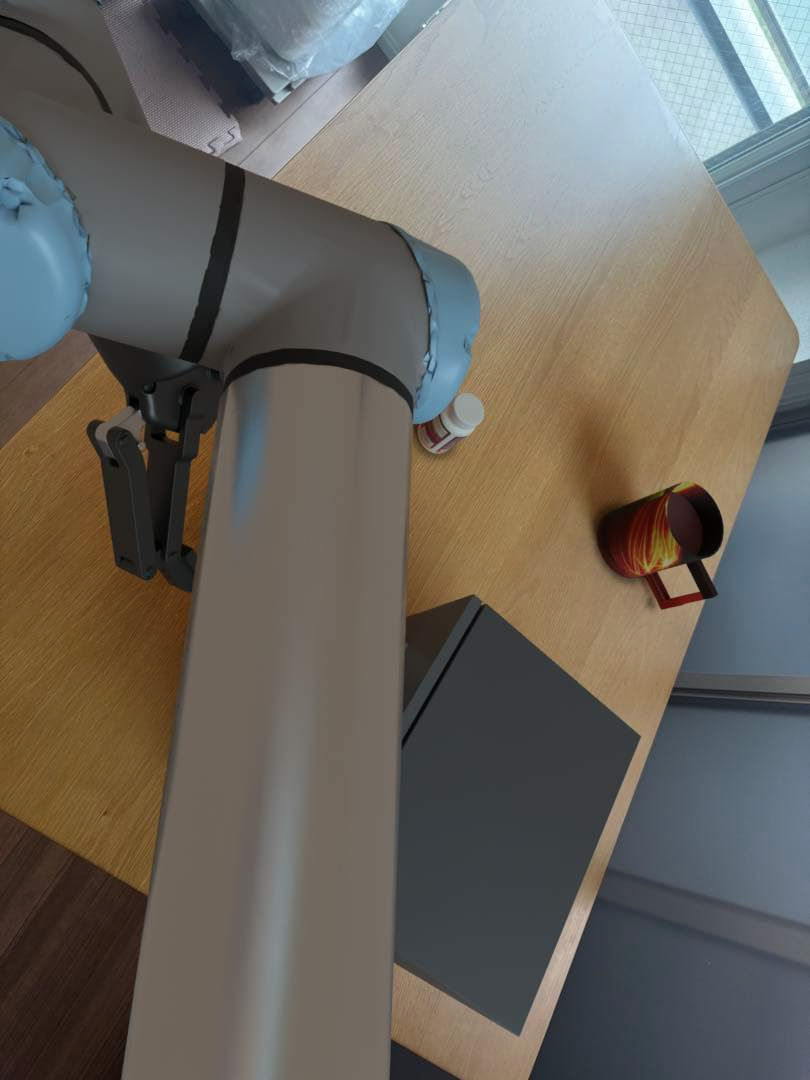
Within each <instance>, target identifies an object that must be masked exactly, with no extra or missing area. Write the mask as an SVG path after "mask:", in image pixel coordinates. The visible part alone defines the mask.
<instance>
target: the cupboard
mask: <svg viewBox="0 0 810 1080" xmlns="http://www.w3.org/2000/svg"><path fill="white" fill-rule="evenodd" d="M641 738H642V735H640V734H639V733H638V732H637V731H636V730H635V729H634V728H633V727H631V726H630V725H629V724H628V723H626V722H625V721H624V720H623V719H622V718H620V717H619V716H618V715H617V714H616V713H614V712H613V710H611V709H610V708H609V707H608V706H606V705H605V704H604V703H603V702H602V701H601V700H600V699H598V697H596V696H595V695H594V694H592V692H591V691H589V690H588V689H587V688H586V687H584V686H583V685H582V684H581V683H580V682H579V681H577V680H576V679H575V678H574V677H572V675H570V673H568V672H567V671H566V670H565V669H563V668H562V667H561V666H560V665H559V664H558V663H556V661H554V660H553V659H552V658H551V657H549V656H548V655H547V654H546V653H545V652H543V650H541V649H540V648H539V647H538V646H537V645H536V644H534V643H533V642H532V641H531V640H530V639H529V638H528V637H526V636H525V635H524V634H523V633H521V632H520V631H519V630H518V629H517V628H515V627H514V626H513V624H511V623H510V622H508V620H507V619H505V618H504V617H503V616H502V615H501V614H499V613H498V612H497V611H496V610H495V609H494V608H492V607H491V606H490V605H489V604H488V603H484V604H483V603H482V604H481V605H480V607H479V609H478V611H477V612H476V614H475V616H474V617H473V619H472V621H471V623H470V624H469V626H468V628H467V629H466V631H465V633H464V635H463V636H462V638H461V640H460V641H459V643H458V645H457V647H456V648H455V650H454V652H453V654H452V655H451V657H450V659H449V660H448V662H447V664H446V666H445V667H444V669H443V671H442V672H441V674H440V676H439V678H438V679H437V681H436V683H435V684H434V686H433V688H432V690H431V691H430V693H429V695H428V696H427V698H426V700H425V702H424V703H423V705H422V707H421V708H420V710H419V712H418V714H417V715H416V717H415V719H414V720H413V722H412V724H411V726H410V727H409V729H408V731H407V732H406V734H405V736H404V738H403V739H402V743H401V771H400V799H399V827H398V855H397V882H396V910H395V938H394V964H395V965H396V966H398V967H399V968H402V969H403V970H405V971H407V972H408V973H410V974H412V975H413V976H414V977H417V978H418V979H420V980H422V981H423V982H425V983H426V984H429V986H432V987H433V988H435V989H437V990H438V991H440V992H442V993H444V994H445V995H446V996H449V997H450V998H452V999H454V1000H455V1001H457V1002H459V1003H461V1004H462V1005H463V1006H466V1007H467V1008H468V1009H471V1011H474V1012H475V1013H478V1014H480V1015H481V1016H483V1017H484V1018H485V1019H488V1020H489V1021H491V1022H493V1023H494V1024H496V1025H498V1026H499V1027H501V1028H503V1029H504V1030H506V1031H508V1032H510V1033H511V1034H513V1035H514V1036H515V1037H517V1038H520V1037H521V1035H522V1032H523V1029H524V1027H525V1024H526V1022H527V1020H528V1017H529V1014H530V1012H531V1010H532V1006H533V1005H534V1002H535V1000H536V997H537V995H538V992H539V990H540V987H541V985H542V982H543V980H544V977H545V975H546V972H547V970H548V967H549V965H550V963H551V960H552V958H553V956H554V953H555V950H556V949H557V946H558V943H559V941H560V938H561V937H562V936H561V935H562V933H563V931H564V928H565V926H566V924H567V921H568V918H569V916H570V913H571V910H572V908H573V906H574V903H575V901H576V900H577V896H578V894H579V892H580V888H581V886H582V884H583V881H584V879H585V876H586V874H587V872H588V869H589V866H590V865H591V862H592V859H593V856H594V854H595V852H596V849H597V847H598V844H599V842H600V839H601V838H602V837H601V836H602V834H603V833H604V830H605V827H606V824H607V822H608V820H609V817H610V815H611V812H612V810H613V807H614V805H615V803H616V800H617V797H618V795H619V793H620V790H621V788H622V786H623V783H624V780H625V778H626V775H627V773H628V770H629V768H630V766H631V763H632V760H633V758H634V756H635V753H636V751H637V748H638V746H639V743H640V741H641Z"/></svg>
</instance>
